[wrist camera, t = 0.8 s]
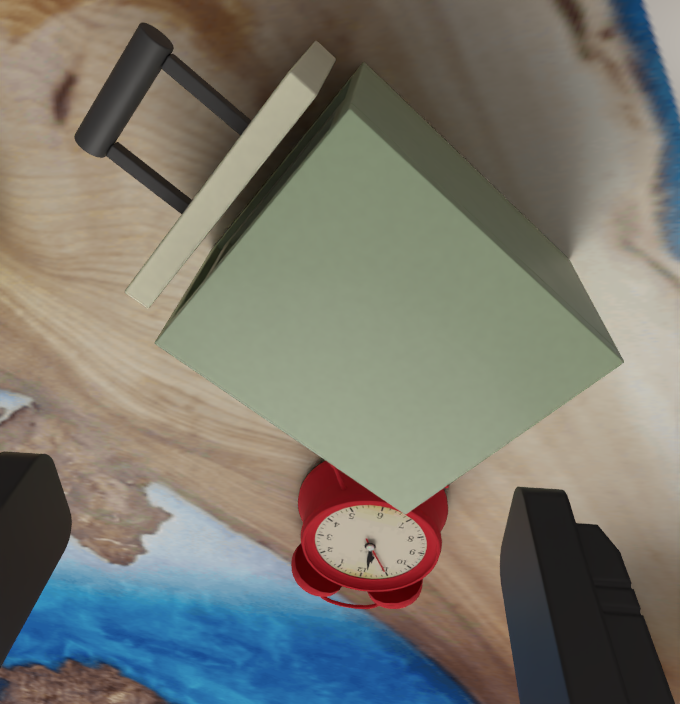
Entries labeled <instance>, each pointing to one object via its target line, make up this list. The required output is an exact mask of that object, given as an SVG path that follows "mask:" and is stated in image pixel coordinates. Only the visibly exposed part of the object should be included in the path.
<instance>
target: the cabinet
mask: <svg viewBox="0 0 680 704" xmlns="http://www.w3.org/2000/svg"><path fill="white" fill-rule="evenodd" d="M343 100H344V102H343V105H342V108H341V111H340V113H339V116H338V119H337V121H336V122H335V123H334V124H333V125H332V127H331V128H330V129H329V130H328V131H327V133H326V134H325V135H324V136H323V137H322V139H321V140H320V141H319V142H318V143H317V145H316V146H315V147H314V148H313V149H312V151H311V152H310V153H309V154H308V156H307V157H306V158H305V159H304V160H303V162H302V163H301V164H300V165H299V166H298V168H297V169H296V170H295V171H294V172H293V174H292V175H291V176H290V177H289V178H288V180H287V181H286V182H285V183H284V185H283V186H282V187H281V188H280V189H279V191H278V192H277V193H276V194H275V195H274V197H273V198H272V199H271V200H270V201H269V203H268V204H267V205H266V206H265V207H264V209H263V210H262V211H261V212H260V213H259V215H258V216H257V217H256V218H255V220H254V221H253V222H252V223H251V224H250V226H249V227H248V228H247V229H246V230H245V232H244V233H243V234H242V235H241V236H240V238H239V239H238V240H237V241H236V242H235V244H234V245H233V246H232V247H231V249H230V250H229V251H228V252H227V253H226V255H225V256H224V257H223V258H222V259H221V261H220V262H219V263H218V264H217V265H216V267H215V268H214V269H213V270H212V271H211V273H210V274H209V275H208V273H209V271H210V269H211V268H212V266H213V264H214V263H215V261H216V259H217V257H218V256H219V254H220V252H221V250H222V249H223V247H224V245H225V244H226V243H227V242H228V240H229V239H230V238H231V237H232V236H233V234H234V233H235V232H236V231H237V229H238V228H239V227H240V226H241V225H242V223H243V222H244V221H245V220H246V218H247V217H248V216H249V215H250V214H251V212H252V211H253V210H254V209H255V207H256V206H257V205H258V204H259V203H260V201H261V200H262V199H263V198H264V196H265V195H266V194H267V193H268V192H269V190H270V189H271V188H272V187H273V185H274V184H275V183H276V182H277V181H278V179H279V178H280V177H281V176H282V174H283V173H284V172H285V171H286V170H287V168H288V167H289V166H290V165H291V163H292V162H293V161H294V160H295V159H296V157H297V156H298V155H299V154H300V152H301V151H302V150H303V149H304V148H305V146H306V145H307V144H308V143H309V141H310V140H311V139H312V138H313V137H314V135H315V134H316V133H317V132H318V130H319V129H320V128H321V127H322V126H323V124H324V123H325V122H326V121H327V119H328V118H329V117H330V116H331V115H332V113H333V112H334V111H335V110H336V108H337V107H338V106H339V105H340V104H341V102H342V101H343ZM207 275H208V276H207ZM206 276H207V277H206ZM205 278H206V279H205ZM155 344H156V345H157V346H159V347H160V348H162V349H163V350H165V351H166V352H168V353H169V354H171V355H172V356H173V357H175V358H176V359H178V360H179V361H181V362H182V363H184V364H185V365H187V366H188V367H190V368H191V369H193V370H194V371H195V372H197V373H198V374H200V375H201V376H203V377H204V378H206V379H207V380H209V381H210V382H212V383H213V384H214V385H216V386H217V387H219V388H220V389H222V390H223V391H225V392H226V393H228V394H229V395H231V396H232V397H234V398H235V399H236V400H238V401H239V402H241V403H242V404H244V405H245V406H247V407H248V408H250V409H251V410H253V411H254V412H255V413H257V414H258V415H260V416H261V417H263V418H264V419H266V420H267V421H269V422H270V423H272V424H273V425H275V426H276V427H277V428H279V429H280V430H282V431H283V432H285V433H286V434H288V435H289V436H291V437H292V438H294V439H295V440H297V441H298V442H299V443H301V444H302V445H304V446H305V447H307V448H308V449H310V450H311V451H313V452H314V453H316V454H317V455H318V456H320V457H321V458H323V459H324V460H326V461H327V462H329V463H330V464H332V465H333V466H335V467H336V468H338V469H339V470H340V471H342V472H343V473H345V474H346V475H348V476H349V477H351V478H352V479H354V480H355V481H357V482H358V483H360V484H361V485H362V486H364V487H365V488H367V489H368V490H370V491H371V492H373V493H374V494H376V495H377V496H379V497H380V498H381V499H383V500H384V501H386V502H387V503H389V504H390V505H392V506H393V507H395V508H396V509H398V510H399V511H401V512H402V513H403V514H407V513H409V512H410V511H411V510H413V509H414V508H416V507H417V506H419V505H420V504H422V503H423V502H424V501H426V500H427V499H429V498H430V497H432V496H433V495H434V494H436V493H437V492H439V491H440V490H442V489H443V488H445V487H446V486H447V485H449V484H450V483H452V482H453V481H455V480H456V479H457V478H459V477H460V476H462V475H463V474H465V473H466V472H467V471H469V470H470V469H472V468H473V467H475V466H476V465H478V464H479V463H480V462H482V461H483V460H485V459H486V458H488V457H489V456H490V455H492V454H493V453H495V452H496V451H498V450H499V449H501V448H502V447H503V446H505V445H506V444H508V443H509V442H511V441H512V440H513V439H515V438H516V437H518V436H519V435H521V434H522V433H523V432H525V431H526V430H528V429H529V428H531V427H532V426H534V425H535V424H536V423H538V422H539V421H541V420H542V419H544V418H545V417H546V416H548V415H549V414H551V413H552V412H554V411H555V410H557V409H558V408H559V407H561V406H562V405H564V404H565V403H567V402H568V401H569V400H571V399H572V398H574V397H575V396H577V395H578V394H579V393H581V392H582V391H584V390H585V389H587V388H588V387H590V386H591V385H592V384H594V383H595V382H597V381H598V380H600V379H601V378H602V377H604V376H605V375H607V374H608V373H610V372H611V371H612V370H614V369H615V368H617V367H618V366H620V365H621V364H623V363H624V360H623V358H622V357H621V355H620V353H619V351H618V349H617V348H616V346H615V344H614V342H613V340H612V338H611V336H610V335H609V333H608V331H607V329H606V327H605V325H604V323H603V322H602V320H601V318H600V316H599V314H598V312H597V310H596V308H595V307H594V305H593V303H592V301H591V299H590V297H589V295H588V294H587V292H586V290H585V288H584V286H583V284H582V282H581V281H580V279H579V277H578V275H577V273H576V271H575V269H574V268H573V265H572V264H571V262H570V260H569V259H568V258H567V257H566V256H565V255H564V254H563V253H562V252H561V251H560V250H559V249H558V248H557V247H556V246H555V245H553V244H552V243H551V242H550V241H549V240H548V239H547V238H546V237H545V236H544V235H543V234H542V233H541V232H540V231H539V230H538V229H537V228H536V227H535V226H534V225H533V224H532V223H531V222H530V221H529V220H528V219H527V218H525V217H524V216H523V215H522V214H521V213H520V212H519V211H518V210H517V209H516V208H515V207H514V206H513V205H512V204H511V203H510V202H509V201H508V200H507V199H506V198H505V197H504V196H503V195H502V194H501V193H500V192H499V191H497V190H496V189H495V188H494V187H493V186H492V185H491V184H490V183H489V182H488V181H487V180H486V179H485V178H484V177H483V176H482V175H481V174H480V173H479V172H478V171H477V170H476V169H475V168H474V167H473V166H472V165H471V164H470V163H468V162H467V161H466V160H465V159H464V158H463V157H462V156H461V155H460V154H459V153H458V152H457V151H456V150H455V149H454V148H453V147H452V146H451V145H450V144H449V143H448V142H447V141H446V140H445V139H444V138H443V137H442V136H440V135H439V134H438V133H437V132H436V131H435V130H434V129H433V128H432V127H431V126H430V125H429V124H428V123H427V122H426V121H425V120H424V119H423V118H422V117H421V116H420V115H419V114H418V113H417V112H416V111H415V110H414V109H413V108H411V107H410V106H409V105H408V104H407V103H406V102H405V101H404V100H403V99H402V98H401V97H400V96H399V95H398V94H397V93H396V92H395V91H394V90H393V89H392V88H391V87H390V86H389V85H388V84H387V83H386V82H385V81H383V80H382V79H381V78H380V77H379V76H378V75H377V74H376V73H375V72H374V71H373V70H372V69H371V68H370V67H369V66H368V65H367V64H366V63H365V62H363V63H362V64H361V65H360V67H359V68H358V69H357V70H356V72H355V73H354V74H353V75H352V77H351V78H350V79H349V80H348V81H347V83H346V84H345V85H344V86H343V88H342V89H341V90H340V91H339V93H338V94H337V95H336V96H335V98H334V99H333V100H332V101H331V103H330V104H329V105H328V106H327V107H326V109H325V110H324V111H323V112H322V114H321V115H320V116H319V117H318V119H317V120H316V121H315V122H314V124H313V125H312V126H311V127H310V128H309V130H308V131H307V132H306V133H305V135H304V136H303V137H302V138H301V140H300V141H299V142H298V143H297V145H296V146H295V147H294V148H293V150H292V151H291V152H290V153H289V154H288V156H287V157H286V158H285V159H284V161H283V162H282V163H281V164H280V166H279V167H278V168H277V169H276V171H275V172H274V173H273V174H272V175H271V177H270V178H269V179H268V180H267V182H266V183H265V184H264V185H263V187H262V188H261V189H260V190H259V192H258V193H257V194H256V195H255V197H254V198H253V199H252V200H251V201H250V203H249V204H248V205H247V206H246V208H245V209H244V210H243V211H242V213H241V214H240V215H239V216H238V218H237V219H236V220H235V221H234V222H233V224H232V225H231V226H230V227H229V229H228V230H227V231H226V232H225V234H224V235H223V236H222V237H221V239H220V240H219V241H218V242H217V244H216V245H215V246H214V247H213V248H212V250H211V251H210V253H209V255H208V256H207V258H206V260H205V261H204V263H203V265H202V266H201V268H200V269H199V271H198V273H197V274H196V276H195V278H194V279H193V281H192V282H191V284H190V286H189V287H188V289H187V291H186V292H185V294H184V295H183V297H182V299H181V300H180V302H179V304H178V305H177V307H176V309H175V310H174V312H173V313H172V315H171V317H170V318H169V320H168V322H167V323H166V325H165V326H164V328H163V330H162V331H161V333H160V334H159V336H158V338H157V339H156V341H155Z"/></svg>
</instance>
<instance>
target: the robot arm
mask: <svg viewBox="0 0 680 704" xmlns="http://www.w3.org/2000/svg"><path fill="white" fill-rule="evenodd" d="M71 525H72V519H71V513H70V509H69V506H68V503H67V500H66V497H65V494H64V491H63V488H62V485H61V482H60V479H59V476H58V473H57V470H56V467H55V464H54V462H53V460H52V458H51V457H50V456H49V455H47V454H34V453H19V452H1V453H0V667H1V665H2V664H3V662H4V660H5V658H6V656H7V655H8V653H9V651H10V649H11V647H12V645H13V644H14V642H15V640H16V638H17V636H18V635H19V633H20V631H21V629H22V627H23V625H24V624H25V622H26V620H27V618H28V616H29V615H30V613H31V611H32V609H33V607H34V605H35V604H36V602H37V600H38V598H39V596H40V595H41V593H42V591H43V589H44V587H45V585H46V584H47V582H48V580H49V578H50V576H51V575H52V573H53V571H54V569H55V567H56V565H57V564H58V562H59V560H60V558H61V556H62V555H63V553H64V551H65V549H66V547H67V544H68V541H69V538H70V533H71ZM500 577H501V586H502V592H503V599H504V605H505V611H506V617H507V624H508V630H509V636H510V642H511V649H512V655H513V661H514V667H515V674H516V680H517V686H518V693H519V699H520V704H675V702H674V699H673V696H672V694H671V691H670V688H669V685H668V683H667V680H666V677H665V674H664V672H663V669H662V666H661V663H660V661H659V658H658V655H657V652H656V650H655V647H654V644H653V641H652V639H651V636H650V633H649V630H648V627H647V625H646V622H645V619H644V616H643V615H641V613H640V609H641V608H640V605H639V603H638V600H637V597H636V594H635V592H634V589H632V588H631V581H630V578H629V575H628V572H627V570H626V567H625V564H624V561H623V559H622V556H621V553H620V551H619V550H618V549H617V548H616V547H615V545H614V544H613V543H612V542H611V541H610V539H609V538H608V537H607V536H606V535H605V533H604V532H603V531H602V530H601V529H600V527H599V526H598V525H593V524H579V523H576V522H575V519H574V516H573V512H572V509H571V506H570V502H569V499H568V496H567V494H566V493H565V491H564V490H559V489H544V488H528V487H517V488H516V489H515V492H514V495H513V499H512V503H511V508H510V512H509V516H508V520H507V525H506V529H505V533H504V537H503V541H502V546H501V554H500Z"/></svg>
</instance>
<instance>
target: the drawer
mask: <svg viewBox="0 0 680 704" xmlns="http://www.w3.org/2000/svg"><path fill="white" fill-rule="evenodd" d="M173 49H174V47H173V44H172V43H171V42H170V40H169V39H168V38H167V37H166V36H165V35H164V34H163V33H162V32H160V31H159V30H158V29H156V28H155V27H153V26H151V25H149V24H147V23H140V24H139V26H138V28H137V29H136V31H135V33H134V34H133V36H132V38H131V40H130V41H129V43H128V45H127V46H126V48H125V50H124V52H123V53H122V55H121V57H120V58H119V60H118V62H117V64H116V65H115V67H114V69H113V70H112V72H111V74H110V75H109V77H108V79H107V81H106V82H105V84H104V86H103V87H102V89H101V91H100V93H99V94H98V96H97V98H96V99H95V101H94V103H93V105H92V106H91V108H90V110H89V111H88V113H87V115H86V116H85V118H84V120H83V122H82V123H81V125H80V127H79V128H78V130H77V132H76V134H75V141H76V143H77V144H78V145H79V146H80V147H81V148H82V149H83V150H84V151H86V152H87V153H89V154H91V155H93V156H96V157H100V158H103V157H106V156H107V157H108V158H109V159H111V160H112V161H113V162H115V163H116V164H117V165H119V166H120V167H121V168H122V169H124V170H125V171H126V172H128V173H129V174H130V175H132V176H133V177H134V178H135V179H137V180H138V181H139V182H141V183H142V184H143V185H145V186H146V187H147V188H148V189H150V190H151V191H152V192H154V193H155V194H156V195H158V196H159V197H160V198H161V199H163V200H164V201H165V202H167V203H168V204H169V205H170V206H172V207H173V208H174V209H176V210H177V211H178V212H180V213H181V214H182V215H181V216H180V218H179V219H178V220H177V222H176V223H175V224H174V226H173V227H172V228H171V230H170V231H169V232H168V234H167V235H166V236H165V238H164V239H163V240H162V242H161V243H160V244H159V246H158V247H157V248H156V250H155V251H154V252H153V254H152V255H151V256H150V258H149V259H148V260H147V262H146V263H145V264H144V266H143V267H142V268H141V270H140V271H139V272H138V274H137V275H136V276H135V278H134V279H133V280H132V282H131V283H130V284H129V286H128V287H127V288H126V290H125V293H126V294H127V295H129V296H130V297H132V298H133V299H134V300H136V301H137V302H139V303H140V304H142V305H143V306H144V307H146V308H150V306H151V305H152V304H153V303H154V301H155V300H156V299H157V297H158V296H159V295H160V294H161V292H162V291H163V290H164V289H165V287H166V286H167V285H168V284H169V282H170V281H171V280H172V278H173V277H174V276H175V275H176V273H177V272H178V271H179V270H180V268H181V267H182V266H183V265H184V263H185V262H186V261H187V260H188V258H189V257H190V256H191V254H192V253H193V252H194V251H195V249H196V248H197V247H198V246H199V244H200V243H201V242H202V241H203V239H204V238H205V237H206V235H207V234H208V233H209V232H210V230H211V229H212V228H213V227H214V225H215V224H216V223H217V222H218V220H219V219H220V218H221V217H222V215H223V214H224V213H225V211H226V210H227V209H228V208H229V206H230V205H231V204H232V203H233V201H234V200H235V199H236V198H237V196H238V195H239V194H240V193H241V191H242V190H243V189H244V187H245V186H246V185H247V184H248V182H249V181H250V180H251V179H252V177H253V176H254V175H255V174H256V172H257V171H258V170H259V168H260V167H261V166H262V165H263V163H264V162H265V161H266V160H267V158H268V157H269V156H270V155H271V153H272V152H273V151H274V150H275V148H276V147H277V146H278V144H279V143H280V142H281V141H282V139H283V138H284V137H285V136H286V134H287V133H288V132H289V131H290V129H291V128H292V127H293V125H294V124H295V123H296V122H297V120H298V119H299V118H300V117H301V115H302V114H303V113H304V112H305V110H306V109H307V108H308V107H309V105H310V104H311V103H312V101H313V100H314V99H315V98H316V96H317V94H318V93H319V91H320V89H321V87H322V85H323V83H324V82H325V80H326V78H327V76H328V74H329V72H330V70H331V69H332V67H333V65H334V63H335V61H336V59H335V58H334V57H333V56H332V55H331V54H330V53H329V52H328V51H327V50H326V49H325V48H324V47H323V46H322V45H321V44H320V43H319V42H318V41H315V42H314V43H313V44H312V45H311V46H310V47H309V49H308V50H307V51H306V52H305V53H304V54H303V56H302V57H301V58H300V59H299V60H298V61H297V62H296V64H295V65H294V66H293V67H292V68H291V69H290V71H289V72H288V73H287V74H286V76H285V77H284V78H283V80H282V81H281V82H280V84H279V85H278V86H277V88H276V89H275V90H274V92H273V93H272V94H271V96H270V97H269V98H268V100H267V101H266V102H265V104H264V105H263V106H262V108H261V109H260V110H259V112H258V113H257V114H256V116H255V117H254V119H253V120H252V121H251V120H250V119H249V118H248V117H246V116H245V115H244V114H243V113H242V112H241V111H239V110H238V109H237V108H236V107H235V106H234V105H232V104H231V103H230V102H229V101H228V100H227V99H225V98H224V97H223V96H222V95H221V94H220V93H219V92H217V91H216V90H215V89H214V88H213V87H212V86H210V85H209V84H208V83H207V82H206V81H205V80H203V79H202V78H201V77H200V76H199V75H198V74H196V73H195V72H194V71H193V70H192V69H191V68H189V67H188V66H187V65H186V64H185V63H184V62H183V61H181V60H180V59H179V58H178V57H177V56H176V55H174V54H171V53H172V51H173ZM161 69H163V70H164V71H165V72H166V73H167V74H169V75H170V76H171V77H172V78H173V79H174V80H176V81H177V82H178V83H179V84H180V85H182V86H183V87H184V88H185V89H186V90H187V91H189V92H190V93H191V94H192V95H193V96H195V97H196V98H197V99H198V100H199V101H200V102H202V103H203V104H204V105H205V106H206V107H208V108H209V109H210V110H211V111H212V112H213V113H215V114H216V115H217V116H218V117H219V118H221V119H222V120H223V121H224V122H225V123H226V124H228V125H229V126H230V127H231V128H232V129H234V130H235V131H236V132H237V133H238V134H239V135H241V136H240V137H239V139H238V140H237V141H236V143H235V144H234V145H233V147H232V148H231V149H230V151H229V152H228V153H227V155H226V156H225V157H224V159H223V160H222V161H221V163H220V164H219V165H218V167H217V168H216V169H215V171H214V172H213V173H212V175H211V176H210V177H209V179H208V180H207V181H206V183H205V184H204V185H203V187H202V188H201V189H200V191H199V192H198V193H197V195H196V196H195V197H194V199H193V200H191V199H190V198H189V197H188V196H186V195H185V194H184V193H182V192H181V191H180V190H179V189H177V188H176V187H175V186H174V185H172V184H171V183H170V182H168V181H167V180H166V179H165V178H163V177H162V176H161V175H159V174H158V173H157V172H156V171H154V170H153V169H152V168H151V167H149V166H148V165H147V164H145V163H144V162H143V161H142V160H140V159H139V158H138V157H136V156H135V155H134V154H133V153H131V152H130V151H129V150H128V149H126V148H125V147H124V146H122V145H121V144H120V143H119V142H116V140H117V139H118V137H119V136H120V134H121V132H122V131H123V129H124V128H125V126H126V124H127V123H128V121H129V120H130V118H131V116H132V115H133V113H134V112H135V110H136V109H137V107H138V105H139V104H140V102H141V101H142V99H143V97H144V96H145V94H146V93H147V91H148V89H149V88H150V86H151V85H152V83H153V82H154V80H155V78H156V77H157V75H158V74H159V72H160V70H161ZM343 102H344V100H343V101H342V102H341V104H340V105H339V106H338V107H337V108H336V110H335V111H334V112H333V113H332V115H331V116H330V117H329V118H328V119H327V121H326V122H325V123H324V124H323V126H322V127H321V128H320V129H319V130H318V132H317V133H316V134H315V135H314V137H313V138H312V139H311V140H310V141H309V143H308V144H307V145H306V146H305V148H304V149H303V150H302V151H301V152H300V154H299V155H298V156H297V157H296V159H295V160H294V161H293V162H292V163H291V165H290V166H289V167H288V168H287V170H286V171H285V172H284V173H283V174H282V176H281V177H280V178H279V179H278V181H277V182H276V183H275V184H274V185H273V187H272V188H271V189H270V190H269V192H268V193H267V194H266V195H265V196H264V198H263V199H262V200H261V201H260V203H259V204H258V205H257V206H256V207H255V209H254V210H253V211H252V212H251V214H250V215H249V216H248V217H247V218H246V220H245V221H244V222H243V223H242V225H241V226H240V227H239V228H238V229H237V231H236V232H235V233H234V234H233V236H232V237H231V238H230V239H229V240H228V242H227V243H226V244H225V245H224V247H223V249H222V250H221V252H220V254H219V256H218V257H217V259H216V261H215V263H214V264H213V266H212V268H211V269H210V271H209V273H208V275H209V274H210V273H211V271H212V270H213V269H214V268H215V267H216V265H217V264H218V263H219V262H220V261H221V259H222V258H223V257H224V256H225V255H226V253H227V252H228V251H229V250H230V249H231V247H232V246H233V245H234V244H235V242H236V241H237V240H238V239H239V238H240V236H241V235H242V234H243V233H244V232H245V230H246V229H247V228H248V227H249V226H250V224H251V223H252V222H253V221H254V220H255V218H256V217H257V216H258V215H259V213H260V212H261V211H262V210H263V209H264V207H265V206H266V205H267V204H268V203H269V201H270V200H271V199H272V198H273V197H274V195H275V194H276V193H277V192H278V191H279V189H280V188H281V187H282V186H283V185H284V183H285V182H286V181H287V180H288V178H289V177H290V176H291V175H292V174H293V172H294V171H295V170H296V169H297V168H298V166H299V165H300V164H301V163H302V162H303V160H304V159H305V158H306V157H307V156H308V154H309V153H310V152H311V151H312V149H313V148H314V147H315V146H316V145H317V143H318V142H319V141H320V140H321V139H322V137H323V136H324V135H325V134H326V133H327V131H328V130H329V129H330V128H331V127H332V125H333V124H334V123H335V122H336V121H337V119H338V116H339V113H340V111H341V108H342V105H343ZM115 142H116V143H115ZM114 143H115V144H114ZM208 275H207V276H208ZM207 276H206V277H207ZM205 279H206V278H205Z"/></svg>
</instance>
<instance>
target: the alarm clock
mask: <svg viewBox="0 0 680 704" xmlns="http://www.w3.org/2000/svg"><path fill="white" fill-rule="evenodd" d="M448 487H449V485H447V486H446V487H445V488H448ZM298 509H299V514H300V517H301V519H302V521H303V526H302V530H301V544H300V545H299V546H298V547H297V548H296V550H295V552H294V554H293V557H292V563H291V566H292V573H293V576H294V578H295V581H296V582H297V584H298V585H299V586H300V587H301V588H302V589H303V590H305V591H306V592H308V593H310V594H312V595H315V596H320V597H321V598H322V599H324V600H325V601H327V602H329V603H332V604H335V605H339V606H343V607H349V608H355V609H370V608H374V607H377V606H382V607H384V608H389V609H399V608H403V607H406V606H408V605H410V604H412V603H413V602H414V601H415V600H416V599H417V598H418V597H419V595H420V593H421V590H422V583H423V578H424V577H425V576H427V575H428V574H429V573H430V572H431V571H432V569H433V568H434V566H435V565H436V563H437V561H438V558H439V555H440V552H441V547H442V540H441V533H440V532H441V530H442V529H443V527H444V525H445V522H446V519H447V514H448V504H447V497H446V494H445V491H444V489H442V490H440V491H439V492H437V493H436V494H434V495H433V496H432V497H430V498H429V499H427V500H426V501H424V502H423V503H422V504H420V505H419V506H417V507H416V508H414V509H413V510H411V511H410V512H409V513H407V514H403V513H402V512H401V511H399V510H398V509H396V508H395V507H393V506H392V505H390V504H389V503H387V502H386V501H384V500H383V499H381V498H380V497H379V496H377V495H376V494H374V493H373V492H371V491H370V490H368V489H367V488H365V487H364V486H362V485H361V484H360V483H358V482H357V481H355V480H354V479H352V478H351V477H349V476H348V475H346V474H345V473H343V472H342V471H340V470H339V469H338V468H336V467H335V466H333V465H332V464H330V463H329V462H327V461H324V462H322V463H321V464H319V465H318V466H317V467H315V468H314V469H313V470H312V471H311V472H310V473H309V474H308V475H307V477H306V478H305V480H304V481H303V483H302V486H301V488H300V492H299V498H298ZM342 586H343V587H346V588H350V589H355V590H360V591H367V592H368V594H369V596H370V598H371V599H372V600H373V602H374V603H375V604H372V605H352V604H346V603H341V602H338V601H334V600H331V599H329V598H327V597H328V596H331V595H333V594H335V593H336V592H337V591H339V590H340V588H341V587H342Z"/></svg>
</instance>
